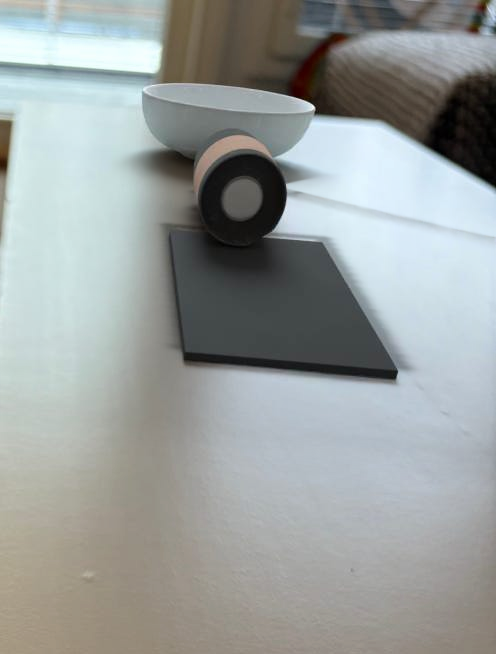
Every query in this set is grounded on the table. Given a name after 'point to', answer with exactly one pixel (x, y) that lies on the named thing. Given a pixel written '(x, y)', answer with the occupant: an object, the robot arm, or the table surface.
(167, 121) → the serving bowl
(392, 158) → the table surface
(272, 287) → the mat
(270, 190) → the travel mug
